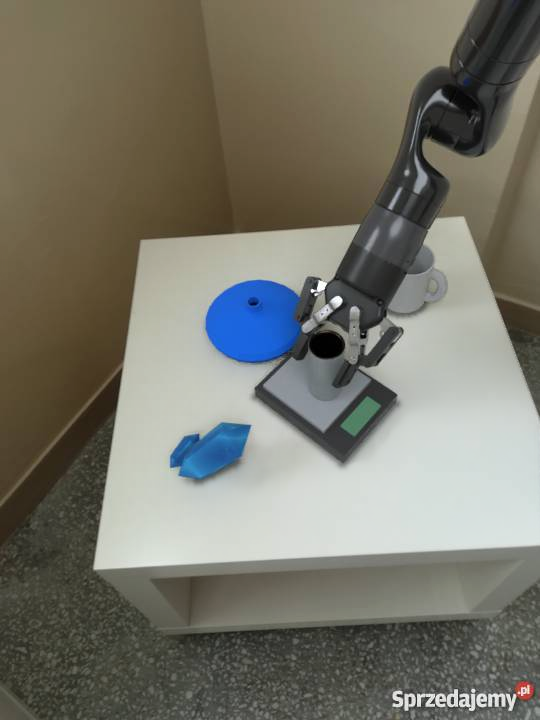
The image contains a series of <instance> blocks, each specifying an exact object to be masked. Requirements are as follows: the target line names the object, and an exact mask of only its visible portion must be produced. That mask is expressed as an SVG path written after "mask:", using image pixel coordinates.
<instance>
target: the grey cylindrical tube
mask: <svg viewBox="0 0 540 720" xmlns="http://www.w3.org/2000/svg"><path fill="white" fill-rule="evenodd" d="M308 355H309V389H310V392H311V394H312V395H313V396H314V397H315V398H317V399H319V400H322V401H329V400H333V399H335V398H336V397H338V396H339V394H340V393H341V390H342V387H341V388H337V389H336V388H335V387H333V386H332V383H333V381H334V379H335V377H336V376H337V374H338V372H339V370H340V368H341V367H342V365H343V363H344V359H345V355H346V341H345V339H344V337H343V336H342V335H341V334H340V333H339V332H337V331H335V330H332V329H323V330H319V331H317V332H316V333H315V334H313V335H312V337H311V338H310V340H309V343H308Z"/></svg>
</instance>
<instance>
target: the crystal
mask: <svg viewBox="0 0 540 720" xmlns="http://www.w3.org/2000/svg"><path fill="white" fill-rule="evenodd" d="M251 428H252V424H246V423H245V424H244V423H237V422H236V423H234V422H226V421H225V422H224V421H221V422H220V423H219V424H217V425H216V426H215V427H214V428H212V429H211V430H210V431H209V432H207V433H206V434H205V435H204V436H202V437H200V436H201V435H200V433H193V434H188V435H184V436H183V437H182V439H181V440H180V442H179V443H178V444H177V446H176V447H175V449H174V450H173V451H172V453H171V454H170V455H169V469H173V468H178V467H179V468H180V469H179V471H178V473H177V476H178V477H184V478H190V479H197V480H203V479H204V478H206V477H208V476H210V475H211V474H213V473H215V472H217V471H219V470H221V469H223V468H225V467H227V466H229V465H231V464H234V463H235V462H236V460H237V459H239V458H241V457H242V456H243V454H244V450H245V447H246V444H247V441H248V437H249V434H250V432H251Z"/></svg>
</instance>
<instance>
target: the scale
mask: <svg viewBox="0 0 540 720" xmlns="http://www.w3.org/2000/svg"><path fill="white" fill-rule="evenodd" d="M293 354H294V353H293V352H292V351H290V352H289V354H288V355H287V356H286V357H284V358H283V359H282V361H280V362H279V363H278V364H277V365H276V366H275V367H274V368H273V369H272V370H271V371H270V372H269V373H268V374H267V375H266V376H265V377H264V378H263V379H262V380H261V381H259V383H257V384H256V385H255V387H254V394H255V397H256V398H257V399H259V400H260V401H261V402H263V403H264V404H265V405H267V406H268V407H269V408H270V409H272V410H273V411H274V412H276V413H277V414H278V415H279V416H281V417H282V418H283V419H285V420H286V421H287V422H288V423H289V424H291V425H293V426H294V428H296V429H298V430H299V431H300V432H302V433H303V434H304V435H305V436H307V437H308V438H310V440H312V441H313V442H315V443H316V444H317V445H319V446H320V447H321V448H322V449H324V450H325V451H326V452H327V453H329V455H332V457H334V458H336V459H337V460H338V461H339V462H341V463H342V464H344V463H345V462H346V461H347V460H348V459H349V458H350V456H352V454H353V453H354V451H355V450H356V449H357V448H358V447H359V446H360V445H361V444H362V442H363V441H365V439H367V436H368V435H369V434H370V433H371V432H372V431H373V430H374V428H376V426H377V425H378V424H379V423H380V422H381V421H382V419H383V418H384V417H385V416H386V415H387V414H388V413H389V411H390V410H391V409H392V408H393V407H394V406H395V404H396V402H397V399H398V393H396V392H395V391H393V390H392V389H390V388H388V387H387V386H386V385H384V384H383V383H382V382H380V381H378V380H377V379H376V378H374V377H372V376H371V375H370V374H368V373H366V372H365V371H363V370H362V369H360V367H359V368H358V369H357V371H356V373H355V375H354V376H353V378H352V380H351V382H350V383H349V384H348V385H347V386H344V387H342V390H341V393H340V394H339V396H338V397H336V398H335V399H333V400H329V401H322V400H319V399H317V398H315V397H314V396H313V395H312V394H311V392H310V389H309V355H308V353H307V355H306V356H305V358H304V359H303V360H300V361H297V360H295V359H294V358H293ZM346 360H347V359H345V358H344V361H346Z"/></svg>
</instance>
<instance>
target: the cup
mask: <svg viewBox="0 0 540 720" xmlns="http://www.w3.org/2000/svg"><path fill="white" fill-rule="evenodd" d="M436 258H437V257H436V255H435V253H434V251H433V250H432V249H431V247H430V246H428V245H427V244H425V243H423V245H422V247H421V250H420V252H419V253H418V255H417V257H416V261H415V262H414V264H413V266H412V267H411V268H410V269H409V271H408V273H407V275H406V276H405V278H404V280H403V282H402V283H401V285H400V287H399V289H398V291H397V292H396V294H395V296H394V298H393V299H392V301H391V303H390V304H389V306H388V309H387V310H389V311H391V312H394V313H398V314H410V313H414V312H416V311H418V310H419V309H421V308H422V307H423V305H424V304H425V303H429V304H434V303H438V302H440V301H441V300H442V299H444V298H445V297H446V296H447V292H448V289H449V282H448V278H447V275H446V274H445V273H444V272H443V271H441V269H437V268H435V265H436V262H437V260H436ZM431 280H432V281H434V282H435V283H436V289H435V290H434V292H431V291H429V289H430V288H429V287H430V283H431Z"/></svg>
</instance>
